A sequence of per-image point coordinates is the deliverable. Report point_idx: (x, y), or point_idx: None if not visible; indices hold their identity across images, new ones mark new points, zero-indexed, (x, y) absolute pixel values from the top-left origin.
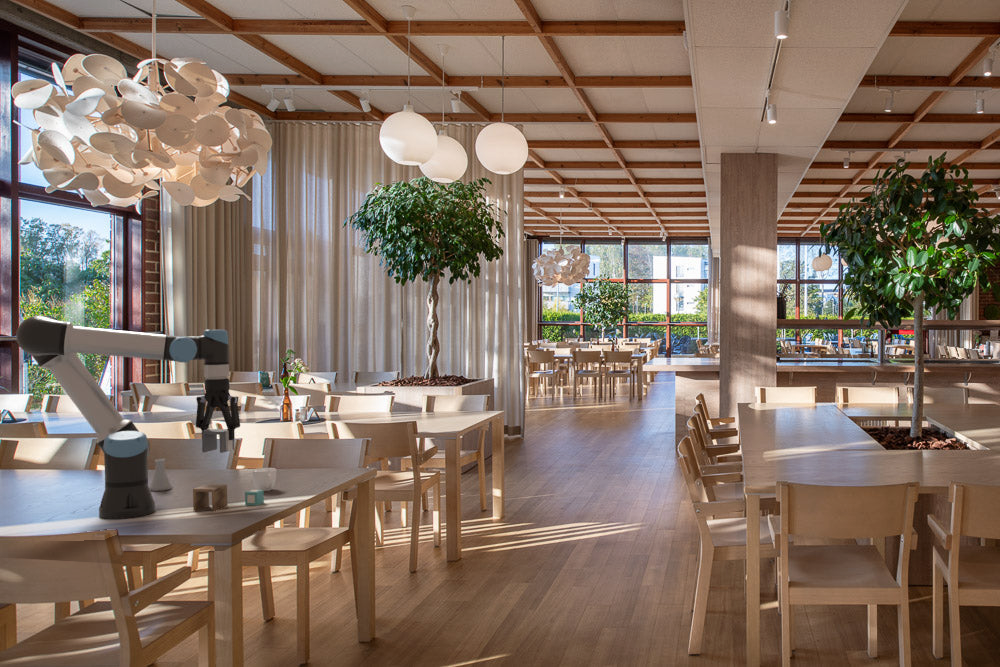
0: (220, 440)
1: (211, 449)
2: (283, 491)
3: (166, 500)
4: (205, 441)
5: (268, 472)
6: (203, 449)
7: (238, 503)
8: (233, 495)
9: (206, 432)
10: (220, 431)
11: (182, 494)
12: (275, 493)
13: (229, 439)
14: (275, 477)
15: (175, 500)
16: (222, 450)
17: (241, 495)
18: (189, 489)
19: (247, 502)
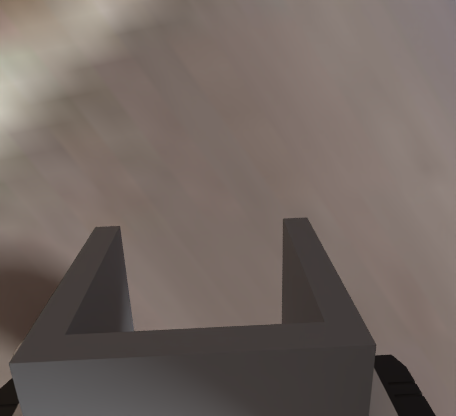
0: (77, 287)
1: (284, 322)
2: (8, 345)
3: (428, 67)
4: (302, 287)
5: None
6: (299, 228)
7: (17, 76)
8: (169, 234)
9: (292, 341)
10: (82, 408)
11: (421, 207)
12: (11, 305)
13: None
14: None
15: (382, 77)
16: (90, 241)
17: (132, 241)
18: (444, 303)
19: None
